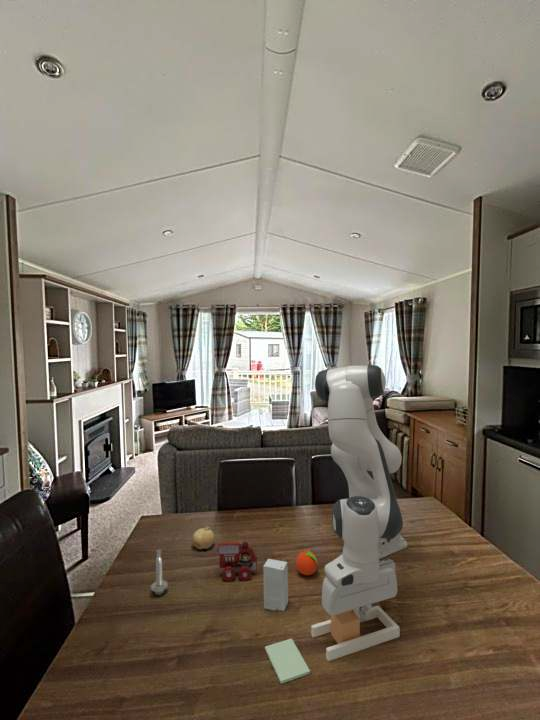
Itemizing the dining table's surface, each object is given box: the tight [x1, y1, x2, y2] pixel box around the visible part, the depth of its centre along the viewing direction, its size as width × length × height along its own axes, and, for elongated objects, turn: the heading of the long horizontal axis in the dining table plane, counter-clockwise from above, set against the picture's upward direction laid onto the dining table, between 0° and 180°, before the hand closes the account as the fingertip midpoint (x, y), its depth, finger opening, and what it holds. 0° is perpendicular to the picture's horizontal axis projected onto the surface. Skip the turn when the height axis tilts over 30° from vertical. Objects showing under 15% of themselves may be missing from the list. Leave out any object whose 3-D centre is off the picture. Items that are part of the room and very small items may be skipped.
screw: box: [150, 549, 169, 596], centre depth 110 cm, size 13×5×5 cm
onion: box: [191, 524, 216, 551], centre depth 136 cm, size 8×8×7 cm
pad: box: [264, 637, 312, 685], centre depth 87 cm, size 10×10×1 cm
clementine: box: [295, 550, 319, 576], centre depth 119 cm, size 8×7×7 cm
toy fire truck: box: [217, 540, 258, 582], centre depth 119 cm, size 7×12×10 cm, turn 93°
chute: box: [310, 605, 401, 662], centre depth 93 cm, size 20×8×3 cm, turn 111°
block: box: [330, 610, 361, 644], centre depth 91 cm, size 5×5×6 cm
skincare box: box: [262, 558, 289, 612], centre depth 104 cm, size 6×4×12 cm
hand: (360, 620), depth 93 cm, fingers closed
